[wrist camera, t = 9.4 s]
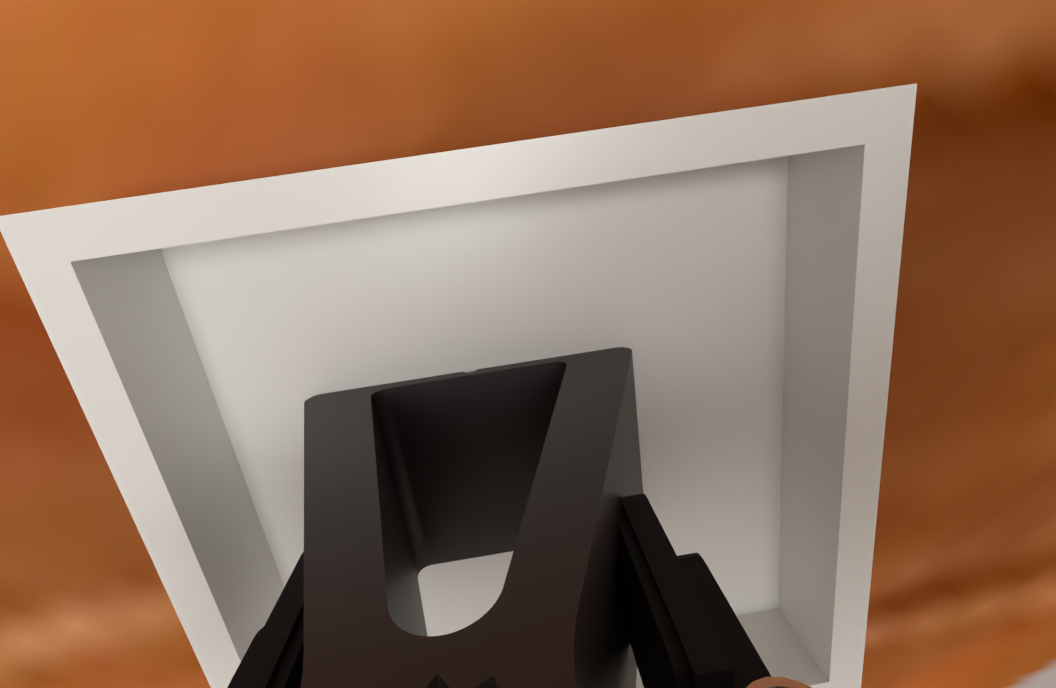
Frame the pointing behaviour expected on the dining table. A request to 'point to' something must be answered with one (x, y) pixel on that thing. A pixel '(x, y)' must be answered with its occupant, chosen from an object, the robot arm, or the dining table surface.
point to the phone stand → (472, 525)
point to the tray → (511, 345)
